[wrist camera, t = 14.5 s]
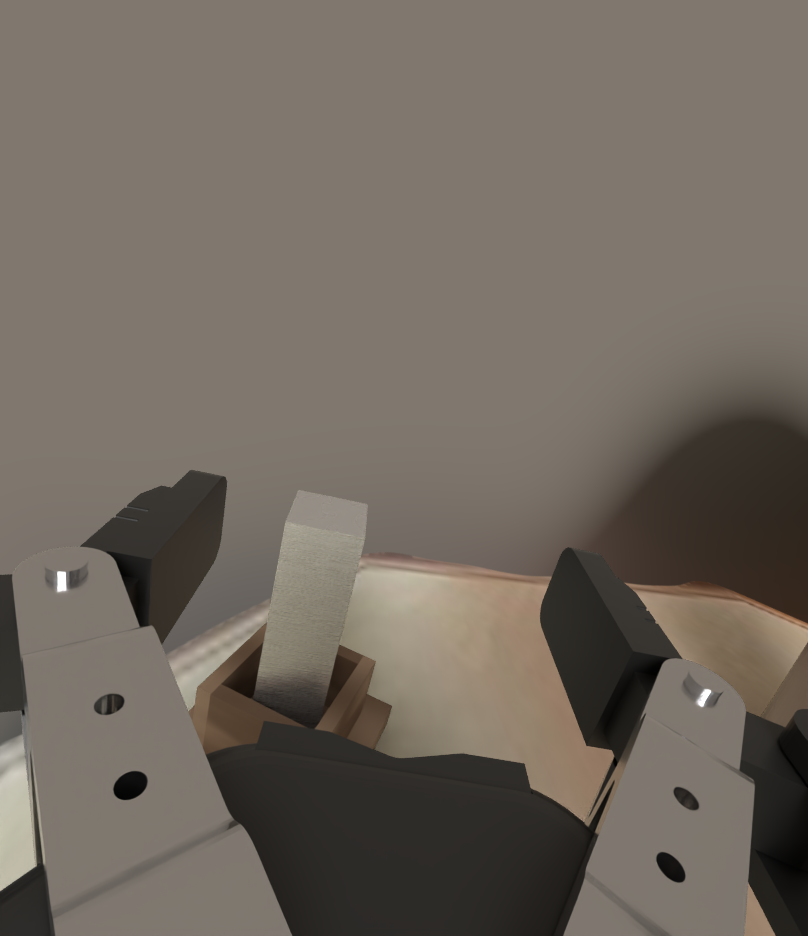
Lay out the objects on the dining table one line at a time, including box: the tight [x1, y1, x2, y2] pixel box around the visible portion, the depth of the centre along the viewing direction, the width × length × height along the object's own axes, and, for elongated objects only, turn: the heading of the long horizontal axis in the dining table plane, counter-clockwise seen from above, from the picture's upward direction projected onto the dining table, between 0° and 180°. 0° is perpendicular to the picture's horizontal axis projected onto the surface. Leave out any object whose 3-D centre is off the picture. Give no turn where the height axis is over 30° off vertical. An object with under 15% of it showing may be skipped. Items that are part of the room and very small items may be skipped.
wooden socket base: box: [189, 623, 392, 755], centre depth 29 cm, size 10×10×6 cm
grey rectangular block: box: [253, 490, 368, 729], centre depth 27 cm, size 4×4×14 cm
